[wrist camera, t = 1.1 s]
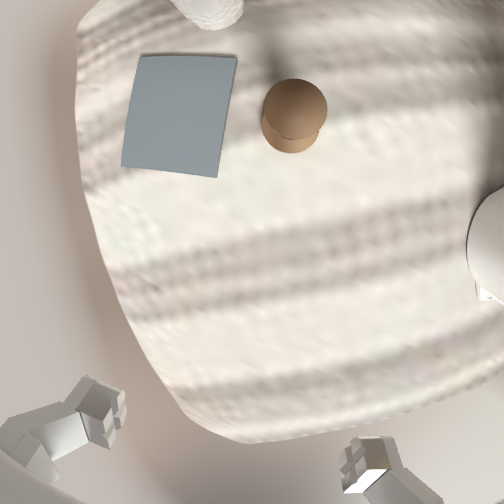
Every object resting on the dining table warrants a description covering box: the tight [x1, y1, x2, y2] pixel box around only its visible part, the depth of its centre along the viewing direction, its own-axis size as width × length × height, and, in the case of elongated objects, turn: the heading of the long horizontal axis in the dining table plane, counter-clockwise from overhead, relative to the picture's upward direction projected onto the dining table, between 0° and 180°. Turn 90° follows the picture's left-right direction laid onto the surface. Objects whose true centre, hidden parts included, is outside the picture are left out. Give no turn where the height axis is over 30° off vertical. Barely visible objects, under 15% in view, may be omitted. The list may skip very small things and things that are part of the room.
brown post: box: [262, 79, 327, 153], centre depth 24 cm, size 6×6×12 cm
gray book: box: [121, 56, 238, 178], centre depth 30 cm, size 12×14×1 cm
